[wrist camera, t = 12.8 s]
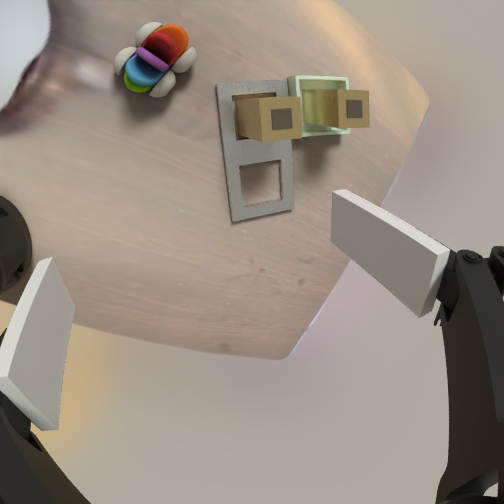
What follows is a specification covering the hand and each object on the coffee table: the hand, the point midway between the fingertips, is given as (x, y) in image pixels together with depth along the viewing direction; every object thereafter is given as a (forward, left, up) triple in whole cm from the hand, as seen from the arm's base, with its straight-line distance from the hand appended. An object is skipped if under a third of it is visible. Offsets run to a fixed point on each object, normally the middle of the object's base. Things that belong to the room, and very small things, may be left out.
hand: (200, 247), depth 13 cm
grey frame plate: (+13, -2, -29) cm, 32 cm away
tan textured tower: (+13, +3, -29) cm, 32 cm away
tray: (+23, +4, -29) cm, 37 cm away
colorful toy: (0, +12, -29) cm, 32 cm away
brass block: (+23, +4, -28) cm, 37 cm away
